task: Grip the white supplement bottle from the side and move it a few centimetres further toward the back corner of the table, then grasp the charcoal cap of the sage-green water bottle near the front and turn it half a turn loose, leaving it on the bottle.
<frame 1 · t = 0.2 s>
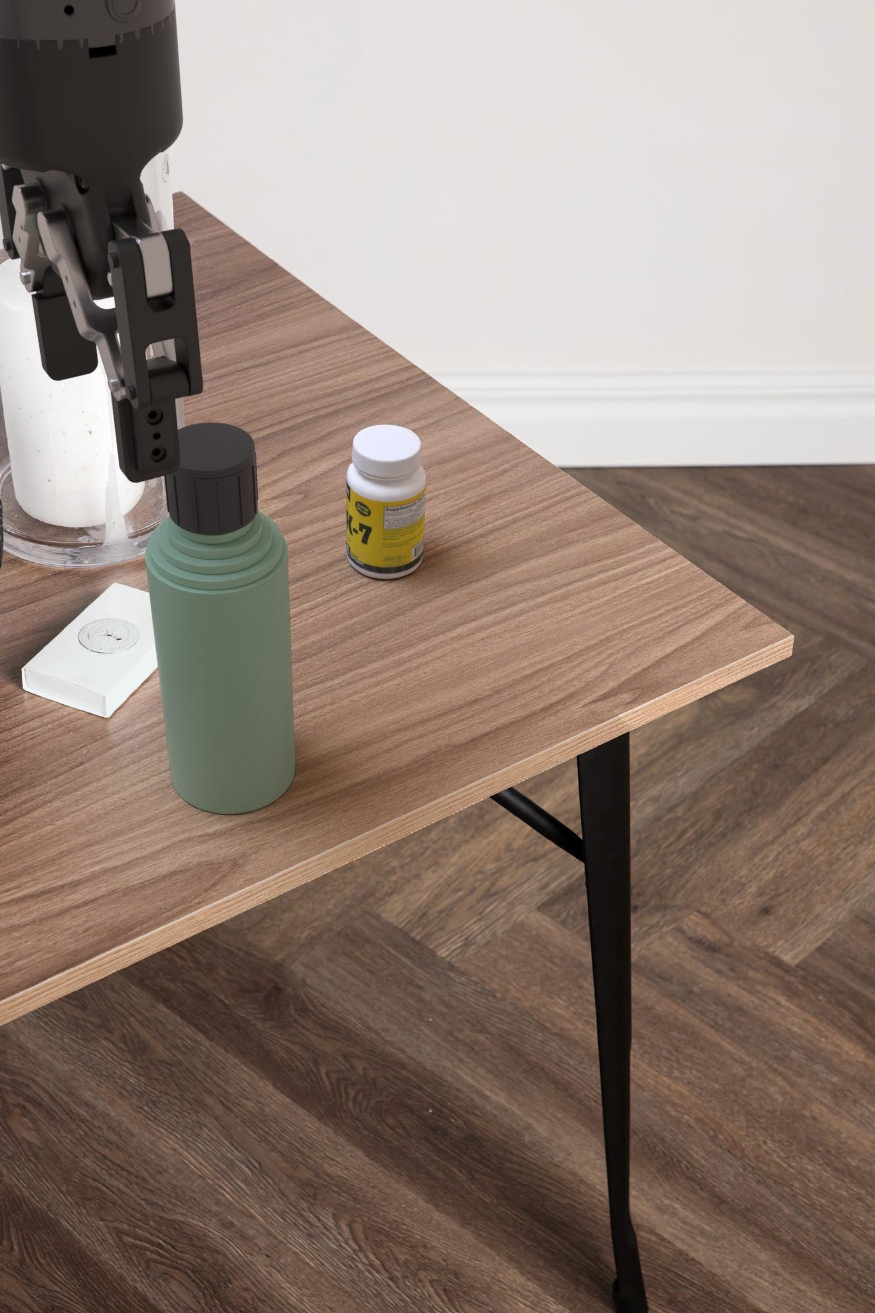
hand: (109, 421, 57), 22 cm above the table, tool pointing down, fingers open, 8 cm apart
cap: (209, 453, 61), point 19 cm above the table, screwed on, not yet turned
supplement bottle: (384, 560, 88), on the table
water bottle: (233, 769, 73), on the table
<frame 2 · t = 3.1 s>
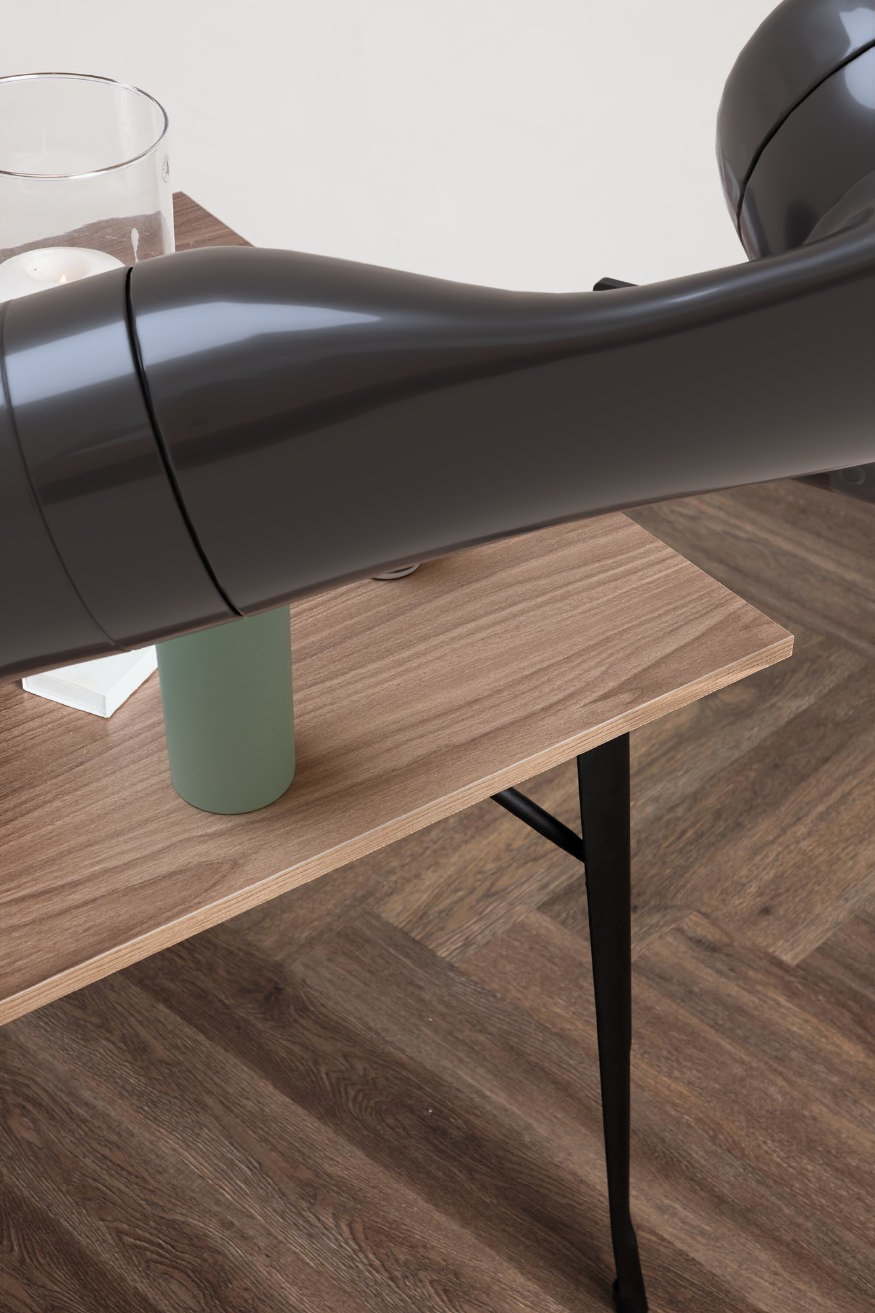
hand: (555, 329, 71), 19 cm above the table, tool horizontal, fingers open, 8 cm apart
nothing on the table moved.
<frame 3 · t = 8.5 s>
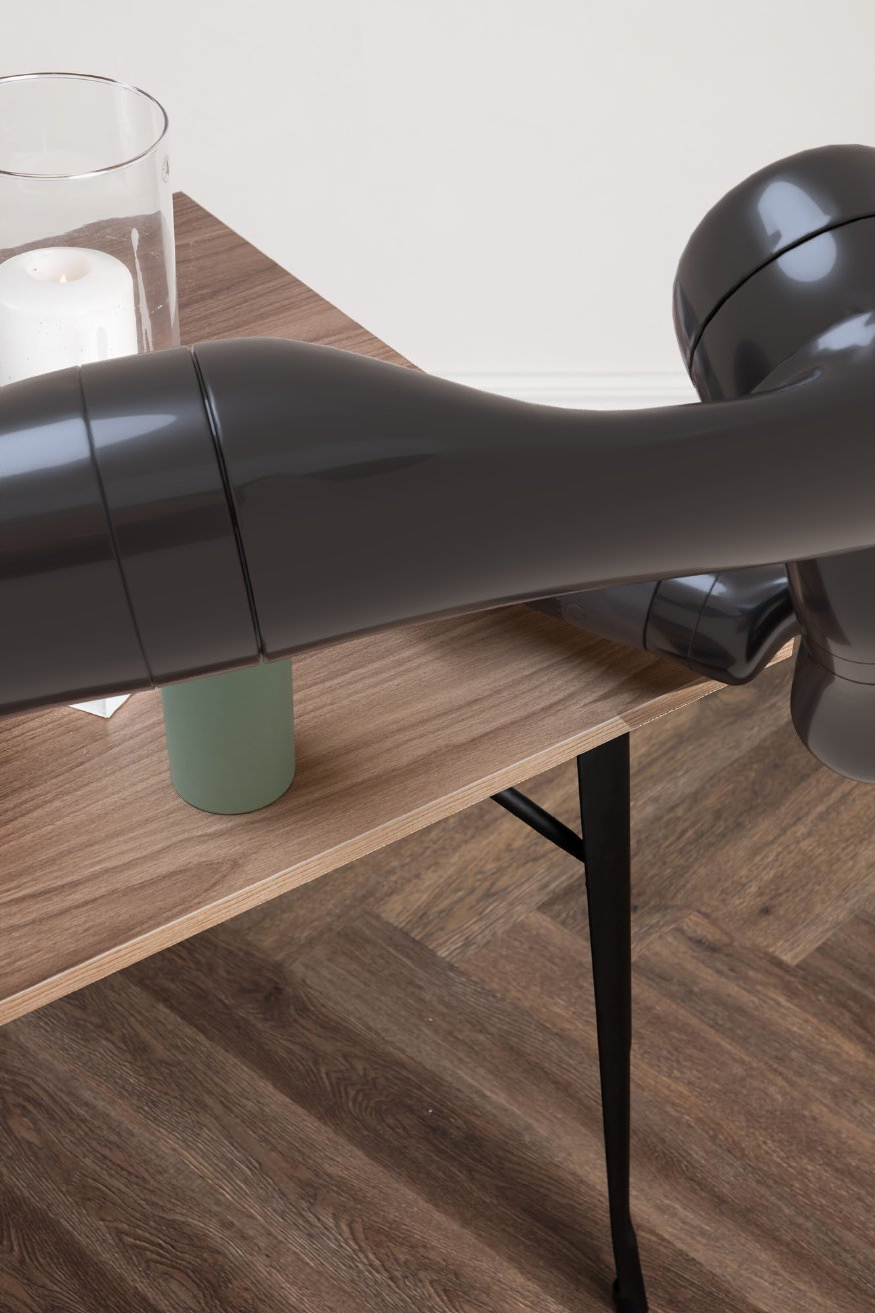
hand: (349, 461, 85), 6 cm above the table, tool horizontal, fingers closed on supplement bottle, 4 cm apart
supplement bottle: (384, 560, 88), on the table, touching gripper
everything else where it was.
when the fingers open (6 cm above the table, at t = 14.5 s): supplement bottle stays where it is, on the table.
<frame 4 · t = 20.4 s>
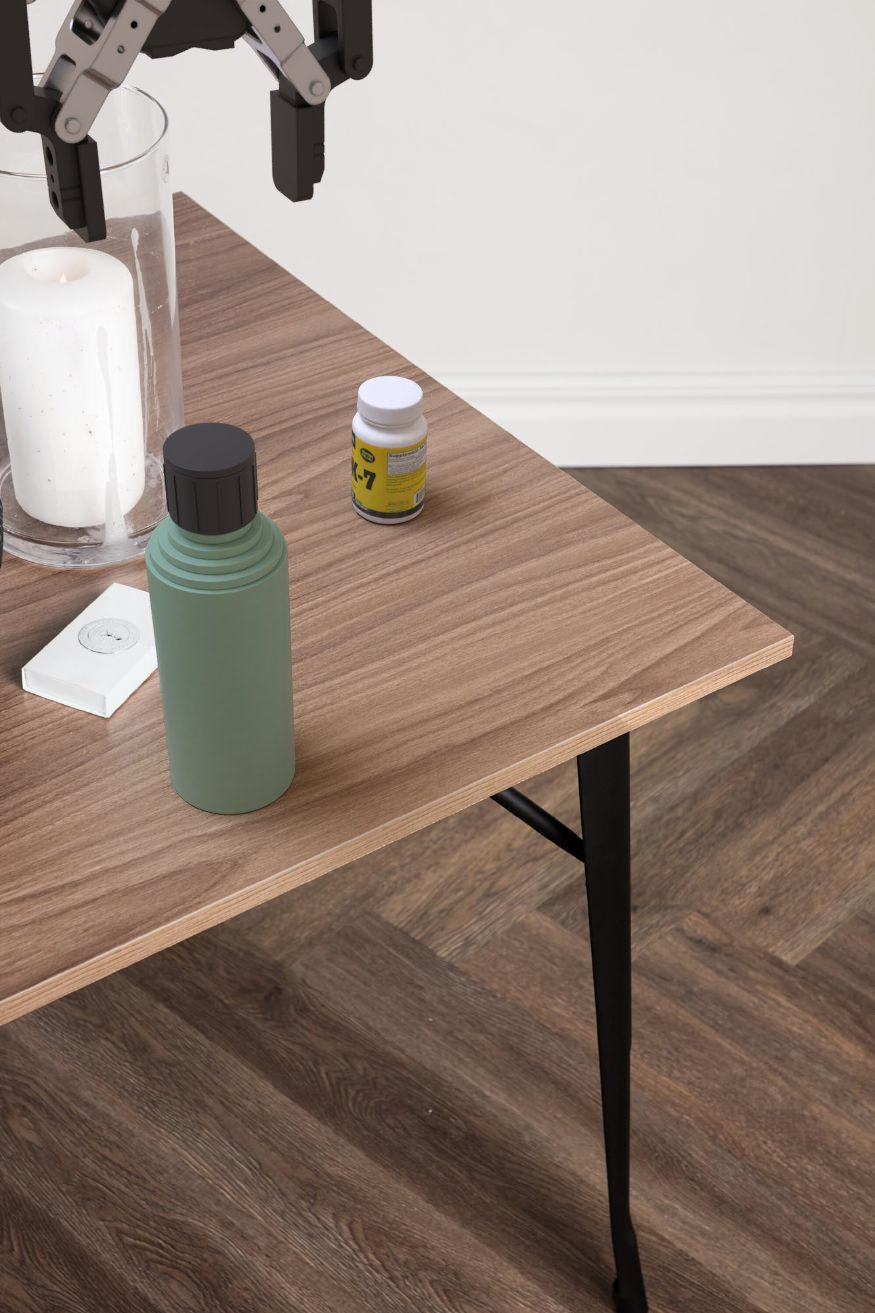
hand: (193, 213, 54), 30 cm above the table, tool pointing down, fingers open, 8 cm apart
supplement bottle: (387, 507, 92), on the table
everything else where it was.
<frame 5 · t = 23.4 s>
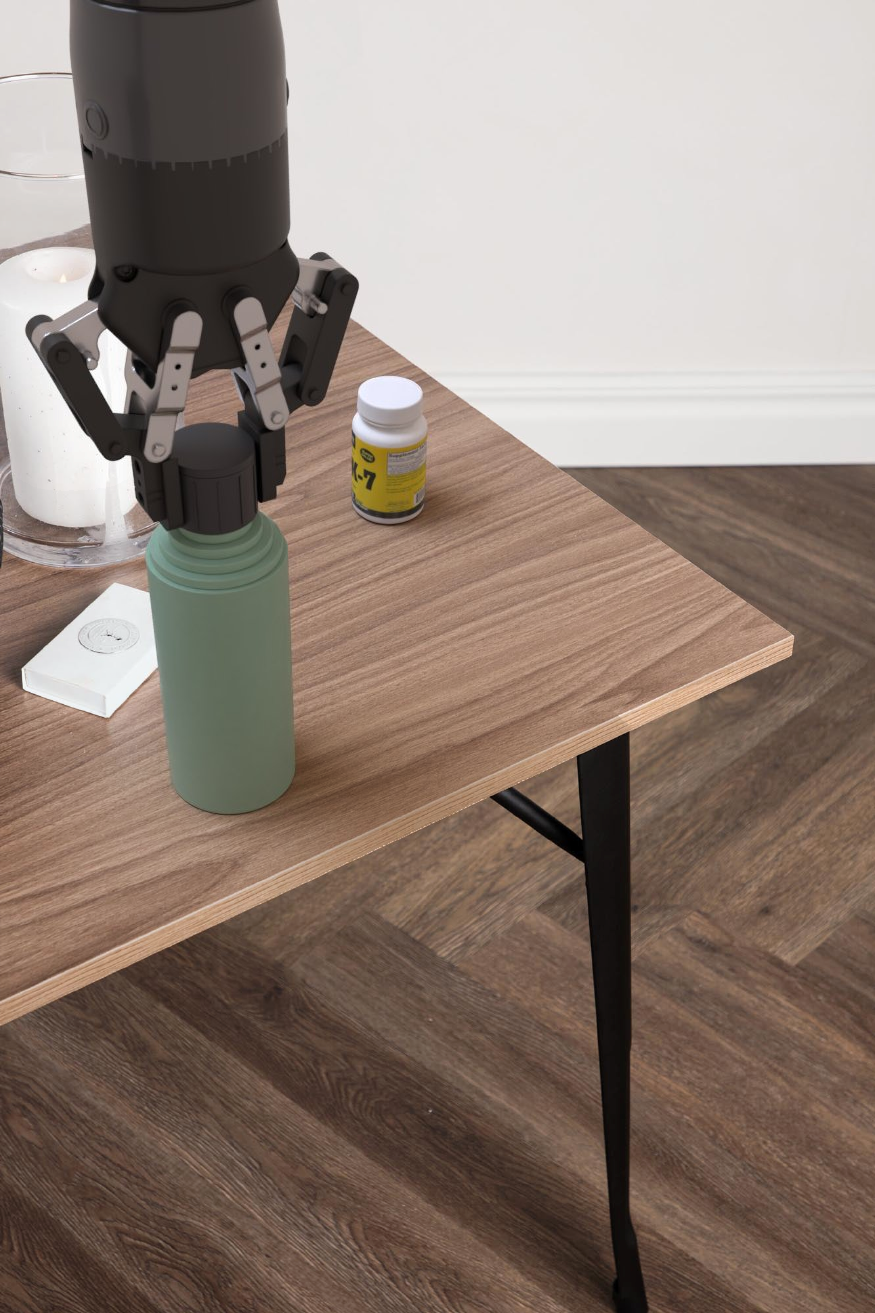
hand: (213, 504, 62), 16 cm above the table, tool pointing down, fingers closed on cap, 4 cm apart
cap: (209, 453, 61), point 19 cm above the table, screwed on, not yet turned, touching gripper
everything else where it was.
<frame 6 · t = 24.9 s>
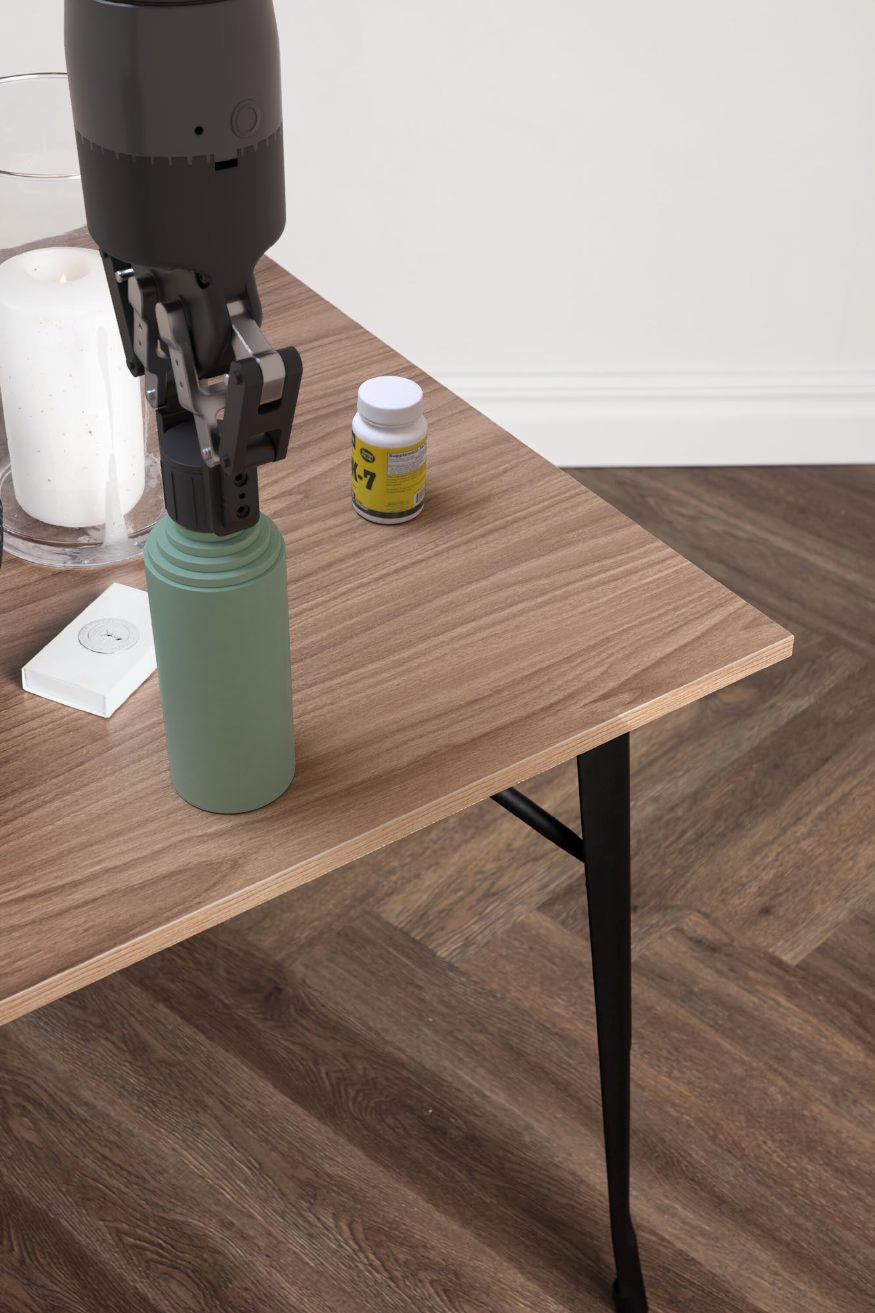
hand: (210, 501, 62), 17 cm above the table, tool pointing down, fingers closed on cap, 4 cm apart
cap: (206, 449, 61), point 19 cm above the table, turned 92° so far, risen 0.1 cm, still on its thread, touching gripper
everything else where it was.
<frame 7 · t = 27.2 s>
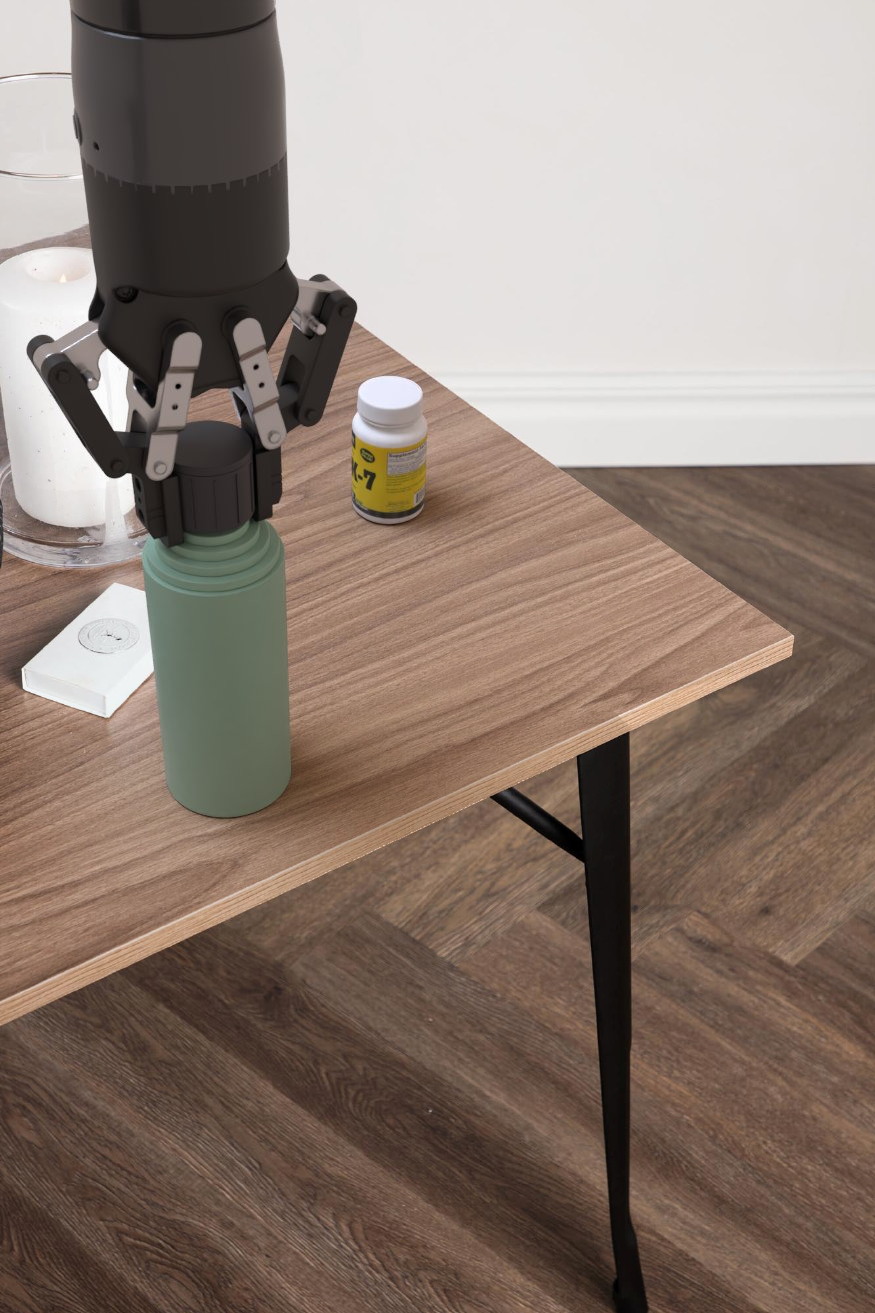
hand: (212, 522, 63), 16 cm above the table, tool pointing down, fingers closed on cap, 3 cm apart
cap: (206, 451, 60), point 19 cm above the table, turned 180° so far, risen 0.2 cm, still on its thread, touching gripper
water bottle: (228, 772, 73), on the table, touching gripper
everything else where it was.
when the fingers open (16 cm above the table, at t = 30.2 s): cap stays where it is, point 19 cm above the table.
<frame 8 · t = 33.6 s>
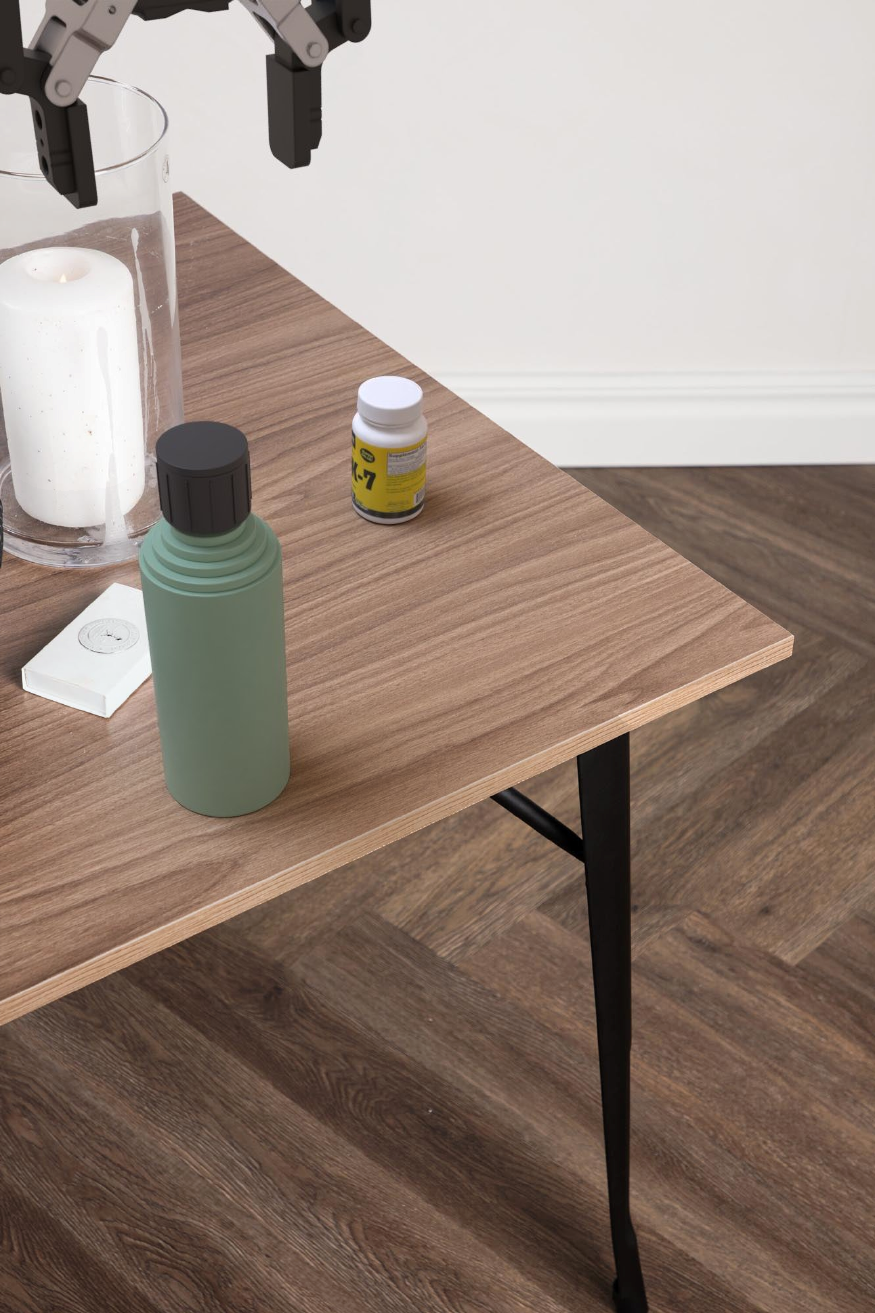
hand: (188, 180, 53), 31 cm above the table, tool pointing down, fingers open, 8 cm apart
cap: (202, 452, 60), point 19 cm above the table, turned 180° so far, risen 0.2 cm, still on its thread
water bottle: (227, 771, 73), on the table
everything else where it was.
at the end: cap turned 0.50 turns (still on its thread); cap is still on its thread (0.50 turns); supplement bottle inside the target area (0.1 cm from its centre), on the table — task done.
